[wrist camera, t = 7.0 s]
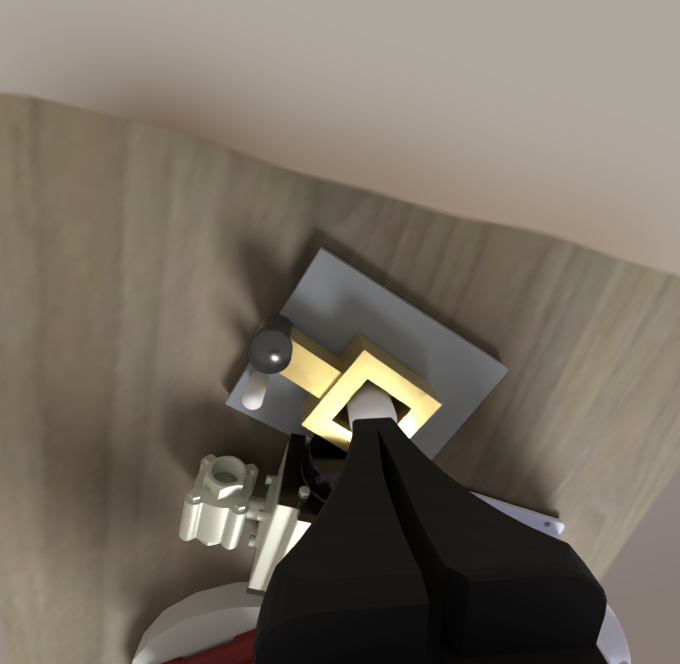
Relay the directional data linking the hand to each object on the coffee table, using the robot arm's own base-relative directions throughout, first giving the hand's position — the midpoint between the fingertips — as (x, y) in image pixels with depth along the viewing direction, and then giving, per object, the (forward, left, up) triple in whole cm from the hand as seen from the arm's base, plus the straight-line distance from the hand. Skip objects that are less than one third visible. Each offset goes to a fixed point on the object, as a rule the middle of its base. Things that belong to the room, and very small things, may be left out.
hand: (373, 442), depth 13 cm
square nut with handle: (0, +2, -8) cm, 8 cm away
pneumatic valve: (+6, +12, -7) cm, 15 cm away
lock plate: (-2, +2, -9) cm, 10 cm away
